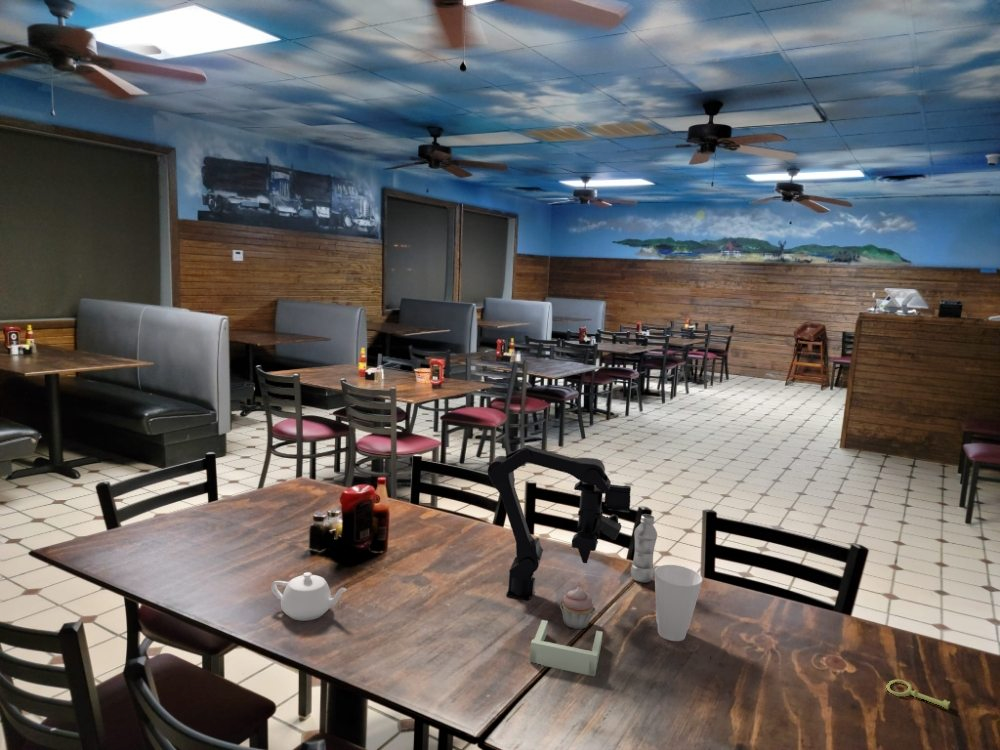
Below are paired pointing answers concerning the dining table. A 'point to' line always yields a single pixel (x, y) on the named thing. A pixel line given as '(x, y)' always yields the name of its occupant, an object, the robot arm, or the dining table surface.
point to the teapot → (306, 596)
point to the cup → (675, 599)
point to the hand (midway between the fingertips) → (585, 561)
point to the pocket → (564, 653)
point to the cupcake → (577, 608)
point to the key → (916, 694)
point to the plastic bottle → (644, 550)
